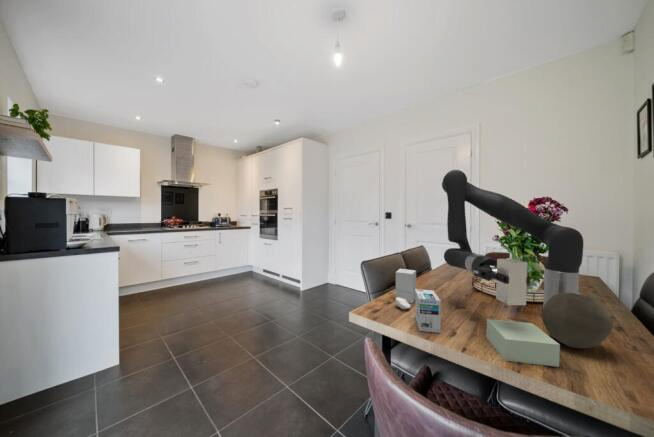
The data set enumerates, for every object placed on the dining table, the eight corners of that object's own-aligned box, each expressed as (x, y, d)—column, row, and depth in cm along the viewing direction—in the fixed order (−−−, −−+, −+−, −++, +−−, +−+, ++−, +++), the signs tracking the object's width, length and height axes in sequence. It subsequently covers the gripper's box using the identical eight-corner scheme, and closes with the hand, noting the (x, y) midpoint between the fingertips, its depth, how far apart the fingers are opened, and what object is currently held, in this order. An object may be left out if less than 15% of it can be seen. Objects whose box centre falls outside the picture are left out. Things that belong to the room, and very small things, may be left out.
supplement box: (416, 298, 110) (416, 270, 109) (412, 303, 104) (412, 274, 103) (399, 295, 114) (400, 268, 113) (394, 300, 108) (395, 271, 107)
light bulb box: (441, 333, 79) (441, 300, 78) (419, 331, 80) (419, 298, 80) (433, 319, 89) (434, 289, 89) (414, 317, 91) (414, 288, 90)
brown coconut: (596, 365, 63) (598, 307, 62) (531, 338, 76) (533, 290, 75) (620, 352, 68) (623, 299, 68) (556, 329, 81) (558, 284, 81)
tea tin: (513, 298, 74) (514, 258, 73) (525, 305, 69) (527, 262, 68) (496, 298, 74) (497, 258, 74) (507, 305, 69) (509, 262, 69)
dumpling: (392, 305, 102) (392, 296, 101) (403, 304, 103) (404, 295, 103) (402, 312, 95) (402, 302, 95) (414, 311, 96) (414, 301, 96)
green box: (531, 342, 74) (531, 323, 74) (559, 368, 62) (559, 344, 62) (486, 338, 77) (486, 319, 76) (505, 361, 65) (505, 339, 65)
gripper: (461, 255, 86) (492, 266, 69) (503, 255, 85) (545, 267, 68) (460, 276, 86) (491, 293, 69) (502, 277, 85) (544, 294, 68)
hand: (518, 280), depth 69 cm, fingers closed on tea tin, 5 cm apart
